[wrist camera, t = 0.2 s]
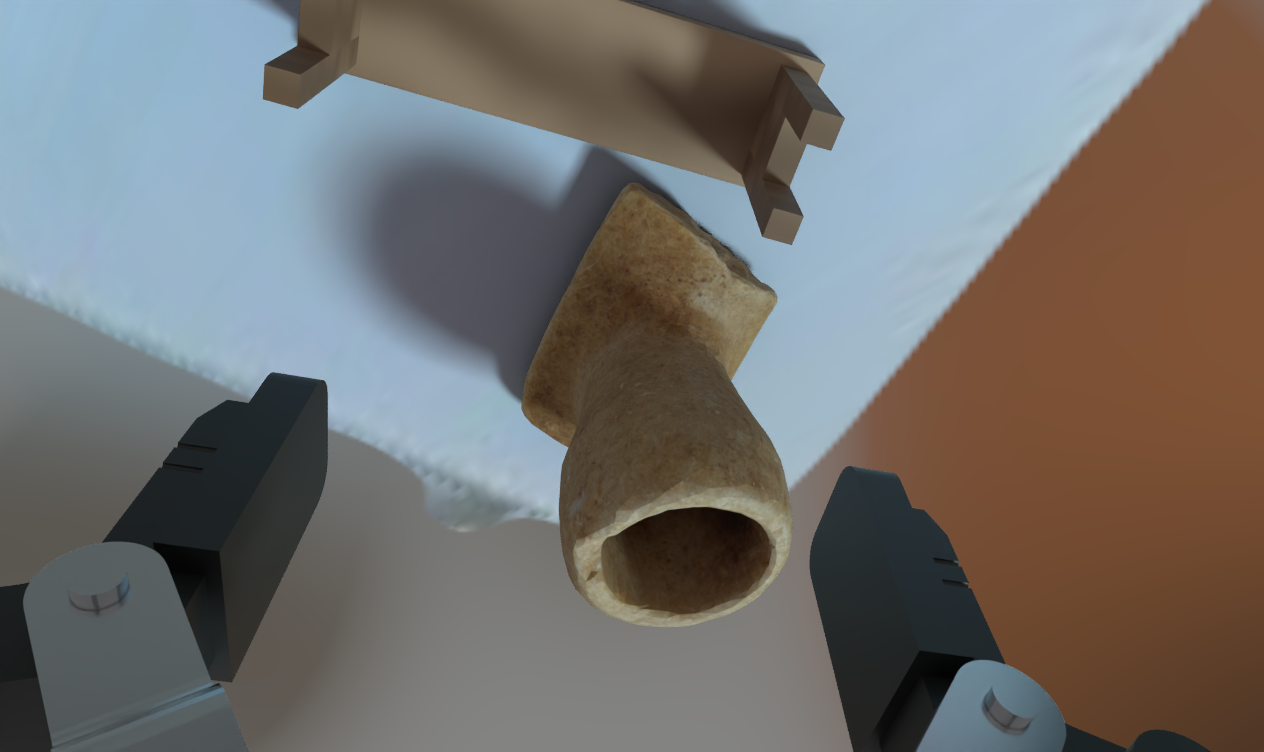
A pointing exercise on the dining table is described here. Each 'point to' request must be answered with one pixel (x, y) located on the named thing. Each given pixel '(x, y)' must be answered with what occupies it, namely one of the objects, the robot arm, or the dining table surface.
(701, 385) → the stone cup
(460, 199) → the dining table surface
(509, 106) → the roll stand
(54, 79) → the dining table surface
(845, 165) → the dining table surface
